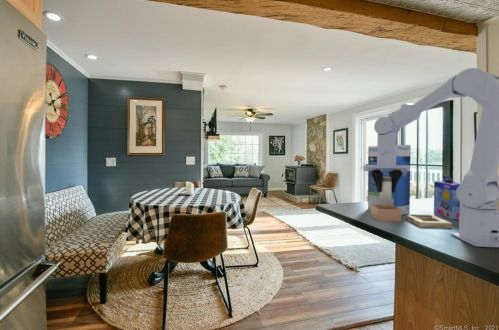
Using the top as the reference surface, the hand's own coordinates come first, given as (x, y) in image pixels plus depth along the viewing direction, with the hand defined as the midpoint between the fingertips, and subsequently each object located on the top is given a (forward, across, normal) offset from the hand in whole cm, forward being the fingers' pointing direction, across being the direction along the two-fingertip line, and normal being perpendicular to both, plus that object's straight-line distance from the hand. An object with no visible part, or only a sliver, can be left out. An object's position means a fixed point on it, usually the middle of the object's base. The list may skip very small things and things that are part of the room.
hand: (385, 191), depth 87 cm
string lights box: (+10, -5, -11) cm, 15 cm away
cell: (+2, 0, 0) cm, 2 cm away
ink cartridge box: (+10, -24, -6) cm, 27 cm away
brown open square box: (+9, 0, 0) cm, 9 cm away
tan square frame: (+9, -11, +5) cm, 15 cm away
